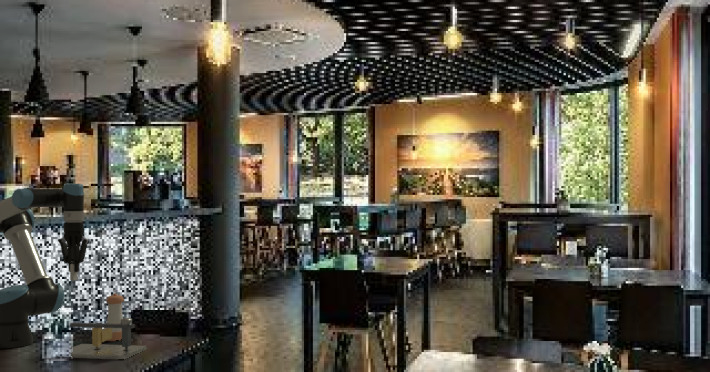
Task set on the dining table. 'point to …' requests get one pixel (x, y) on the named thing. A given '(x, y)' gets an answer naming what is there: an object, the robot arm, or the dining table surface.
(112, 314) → the salt shaker
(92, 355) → the bolt plate
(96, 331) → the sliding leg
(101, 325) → the divider beam
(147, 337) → the dining table surface
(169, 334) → the dining table surface
